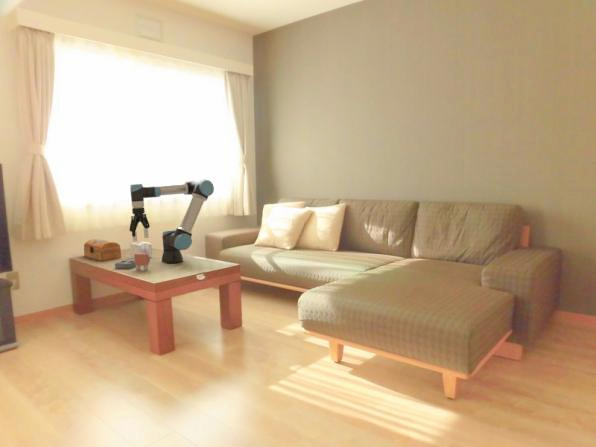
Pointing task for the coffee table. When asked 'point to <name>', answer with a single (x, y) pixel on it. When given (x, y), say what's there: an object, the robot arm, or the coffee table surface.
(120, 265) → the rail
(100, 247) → the wooden box
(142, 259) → the clip
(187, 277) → the coffee table surface
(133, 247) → the cable organizer
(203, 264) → the coffee table surface
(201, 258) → the coffee table surface
